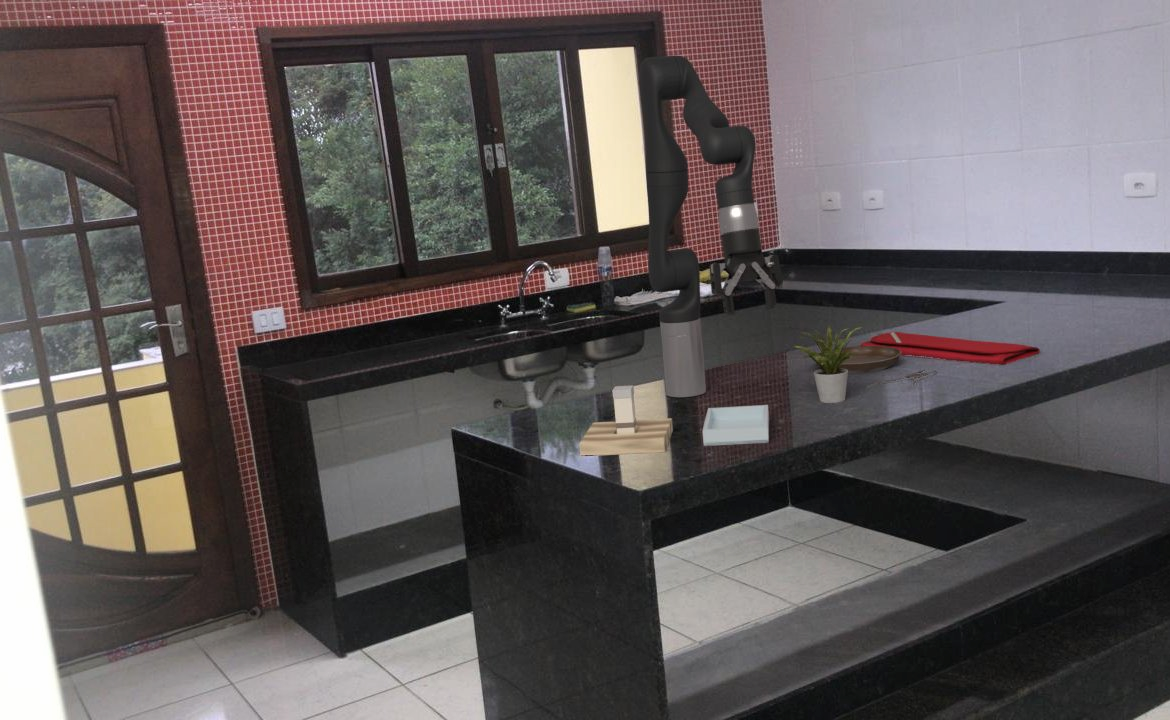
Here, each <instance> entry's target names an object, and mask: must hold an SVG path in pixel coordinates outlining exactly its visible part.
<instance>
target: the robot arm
mask: <svg viewBox="0 0 1170 720" xmlns="http://www.w3.org/2000/svg"><path fill="white" fill-rule="evenodd" d="M638 83H639V84H638V85H639V86H638V87H639V93H640V94H639V95H640V102H641V110H642V118H643V127H644V141H645V142H644V144H645V176H646V177H645V179H646V195H647V206H648V207H647V209H648V252H647V253H648V254H647V255H648V256H647V258H648V259H647V267H648V268H647V272H648V279H649V283H650V286H651V288H652V290H653V291H654V292H656V293H668V292H675V291H676V292H677V291H679V292H678V295H677V296H676V298H675V299H674V300H673V301H672V302H670V303H668V304H666V305H664V306H663V307H661V308H660V309H659V315H658V316H659V325H660V326H659V327H660V336H661V347H662V349H661V350H662V358H663V359H662V360H663V361H662V362H663V370H664V372H663V373H664V383H665V395H666V396H668V397H671V398H689V397H697V396H700V395H704V394H705V393H707V387H706V386H707V385H706V373H705V361H704V350H703V349H704V347H703V336H702V334H703V333H702V323H701V303H702V302H701V279H700V277H701V274H700V265H699V259H698V256H697V254H696V252H695V251H694V250H693V249H691V248H687V247H686V248H678V249H670V250H668V244H669V236H670V232H671V228H672V227H673V224H674V222H675V220H676V217H677V216H678V214H679V212H680V210H681V209H682V207H683V205H684V203H685V201H686V199H687V197H688V192H689V170H688V169H689V165H688V159H687V157H686V155H685V153H684V151H683V149H682V148H681V146H680V145H679V143H678V142H677V140H676V139H675V138H674V136H673V135H672V133H671V131H670V130H669V129H668V127H667V124H666V121H665V118H664V116H663V111H662V104H661V102H662V101H674V100H679V99H683V100H685V101H684V104H683V107H682V116H683V120H684V123H685V125H686V126H687V127H688V129H689V130H690V131H691V132H692V133H693V135H694V136H695V137H696V139H697V142H698V145H699V149H700V154H701V157H702V158H703V160H704V162H706V163H708V164H710V165H712V166H720V165H721V166H722V165H728V164H729V165H730V164H734V169H733V172H732V174H728V175H726V176H723V177H721V178H719V179H717V180H716V182H715V194H716V200H717V209H718V225H719V233H720V239H721V247H722V253H723V257H724V259H723V260H724V261H723V262H722V263H718V262H713V263H711V264H709V278H710V289H711V290H710V291H711V294H712V295H717V296H720V297H721V298H722V305H723V312H724V313H725V314H726V315H727V316H734V315H735V314H736V313H735V306H734V298H733V297H734V296H733V295H732V292H733V290H734V289H735V287H736V286H737V285H738V283H742V282H743V283H744V282H747V281H748V282H749V281H750V282H751V281H756V282H757V283H760V285H761V286H762V287H763V288H764V289H765V290H764V299H765V305H766V309H767V310H771V309H775V306H776V305H777V298H776V297H777V296H776V290H775V289H776V288H777V287H778V286H781V285H783V283H784V278H783V273H782V269H781V263H780V259H779V255H778V254H773V255H772V254H771V255H768V256H765V257H764V254H763V252H762V251H763V247H762V240H761V233H760V222H759V218H758V213H757V209H756V206H755V199H754V191H753V178H752V177H753V168H754V160H755V154H756V138H755V135H754V133H753V132H752V130H751V129H750V128H749V127H748V126H745V125H735V126H730V123H729V119H728V118H727V116H726V114H725V113H724V112H723V111H722V110H721V109H720V108H719V107H718V105H716V104H715V103H714V101H713V100H712V98H710V96H709V93H708V92H707V91H706V88H705V87H704V85H703V83H702V81H701V78H700V77H699V75H698V73H697V72H696V70H695V67H694V66H693V64H692V63H691V62H690V60H689V59H688V58H687V57H685V56H682V55H664V56H651V57H650V56H649V57H645V58H644V59H643V60H642V61H641V63H640V65H639V73H638ZM765 264H766V266H767V267H768V268H769V272H770V277H769V275H768V274H767V273H766V272H765V270H764V269H763V268H764V266H765ZM724 271H725V272H726V273H727V274H728V275H727V276H726V279H725V281H724V285H723V286H722V276H721V274H723V272H724Z"/></svg>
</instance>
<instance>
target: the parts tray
mask: <svg viewBox="0 0 1170 720" xmlns="http://www.w3.org/2000/svg"><path fill="white" fill-rule="evenodd" d="M769 413H770V412H769V404H761V405H760V404H758V405H743V406H742V405H740V406H739V405H738V406H725V407H724V406H721V407H708V408H707V412H706V415H705V418H704V423H703V426H702V427H703V428H702V440H703V441H702V442H703V443H702V444H703V447H710V446H729V445H730V446H733V445H749V444H750V445H751V444H752V445H753V444H768V443H769V441H770V437H769V436H770V414H769Z"/></svg>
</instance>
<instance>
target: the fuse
mask: <svg viewBox="0 0 1170 720" xmlns="http://www.w3.org/2000/svg"><path fill="white" fill-rule="evenodd" d="M634 389H635V388H634V385H619V386H618V385H617V386H614V387H613V389H612V399H613V405H614V415H615V416H614V417H615V421H616V428H617V434H626V433H637V426H636V420H637V416H636V407H635V406H636V405H635V396H634V395H635V390H634Z"/></svg>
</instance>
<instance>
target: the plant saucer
mask: <svg viewBox="0 0 1170 720" xmlns="http://www.w3.org/2000/svg"><path fill="white" fill-rule="evenodd" d="M844 347H845V346H844ZM844 347H843V348H844ZM842 350H843V349H842ZM838 351H839V350H838ZM833 352H834V348H833ZM845 352H852V353H850V354H848V355H846V356H848V357H850V356H852V357H854V358H850V359H848V360H846V361H844V362H843V363H842V364H841V366H840V368H842V369H847V370H848V374H860V373H859V372H864V373H871V372H870V371H873V372H877V371H876V370H879V371H882V370H881V369H883V370H886V369H888V367H889V368H890V366H891V367H892V366H893V365H894V364H895V363H896V362H897V361H898V360H899V358H900V357H901V356H900V355H901V351H900V350H899V349H896V348H892V347H885V346H860V345H857V346H846V347H845V348H844V350H843V352H842V354H843V353H845ZM853 352H855V353H856V354H857V355H856V354H855V353H853ZM818 354H819V355H820V356H821V357H824V356H822V355H823V354H822V353H820V352H819V353H818ZM821 354H822V355H821ZM842 354H841V355H842ZM825 361H826V360H825ZM885 368H886V369H885Z"/></svg>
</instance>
